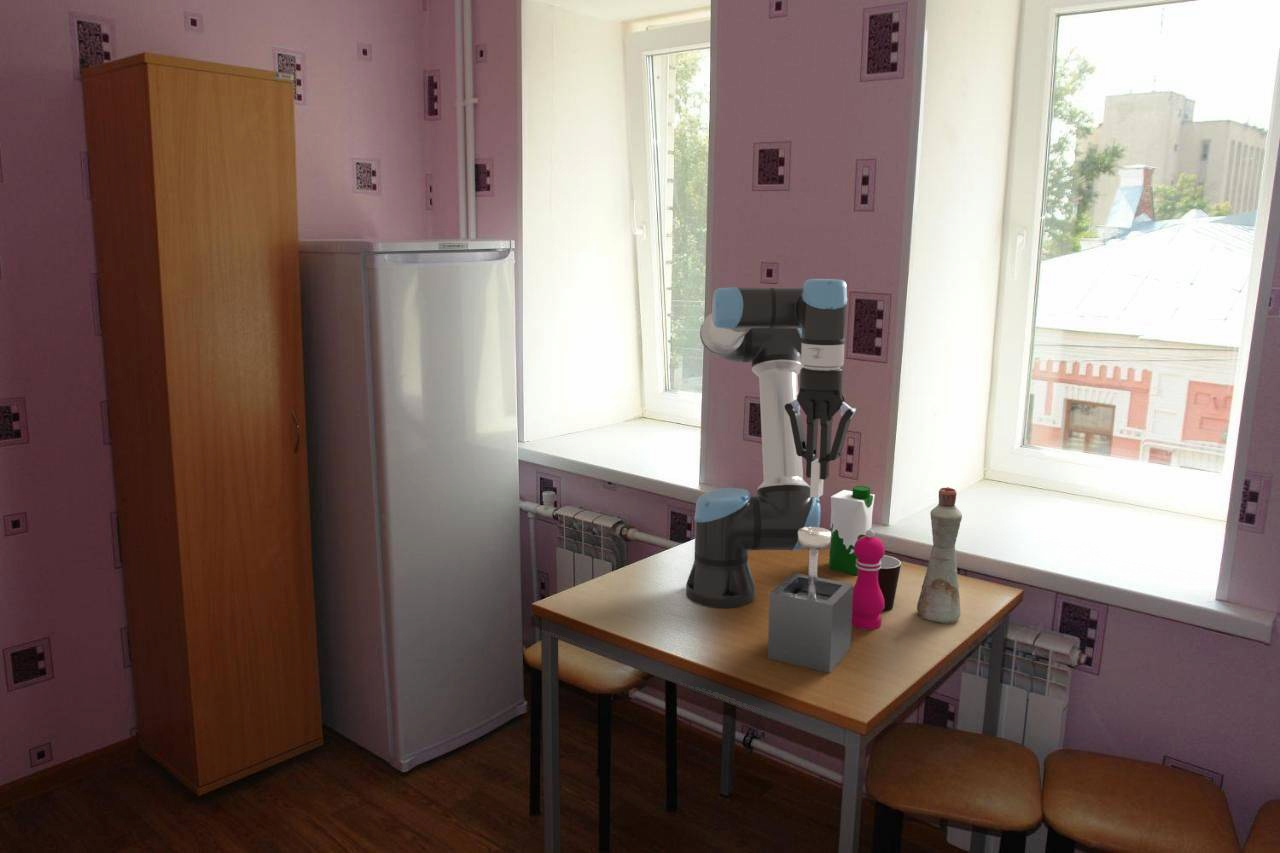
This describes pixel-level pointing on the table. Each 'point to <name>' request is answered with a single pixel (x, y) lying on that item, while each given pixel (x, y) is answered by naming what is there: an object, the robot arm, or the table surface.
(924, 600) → the bottle
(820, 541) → the plunger
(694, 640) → the table surface
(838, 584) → the tower
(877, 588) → the pepper mill
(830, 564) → the milk carton
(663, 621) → the table surface
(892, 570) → the coffee mug
